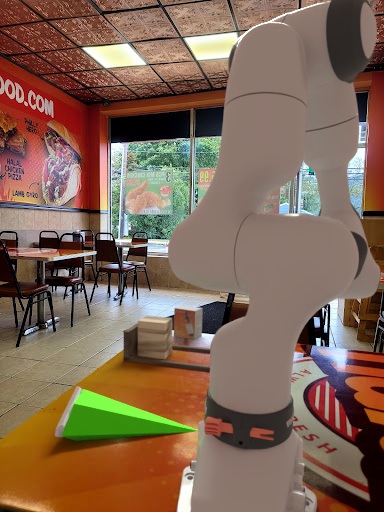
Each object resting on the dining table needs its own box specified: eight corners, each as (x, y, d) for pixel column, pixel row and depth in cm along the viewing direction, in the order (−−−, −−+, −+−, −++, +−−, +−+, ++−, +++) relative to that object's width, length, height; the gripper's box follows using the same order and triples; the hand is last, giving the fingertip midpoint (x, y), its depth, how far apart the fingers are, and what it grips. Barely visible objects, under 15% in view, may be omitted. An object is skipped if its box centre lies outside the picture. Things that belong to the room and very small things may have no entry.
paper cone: (199, 421, 72) (76, 401, 72) (204, 401, 70) (77, 380, 70) (197, 474, 62) (53, 450, 61) (203, 451, 60) (54, 427, 59)
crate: (164, 359, 97) (165, 323, 97) (137, 356, 100) (137, 320, 99) (172, 352, 103) (172, 318, 102) (146, 349, 105) (146, 315, 105)
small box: (173, 339, 119) (173, 307, 118) (181, 334, 124) (181, 304, 123) (194, 343, 115) (195, 310, 114) (202, 338, 120) (202, 307, 119)
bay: (210, 375, 90) (210, 340, 89) (123, 364, 97) (123, 331, 96) (221, 356, 103) (221, 326, 103) (144, 347, 110) (144, 318, 109)
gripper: (300, 259, 93) (247, 257, 97) (302, 268, 73) (235, 265, 77) (299, 283, 93) (246, 280, 97) (300, 298, 74) (234, 294, 77)
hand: (241, 274), depth 87 cm, fingers closed
